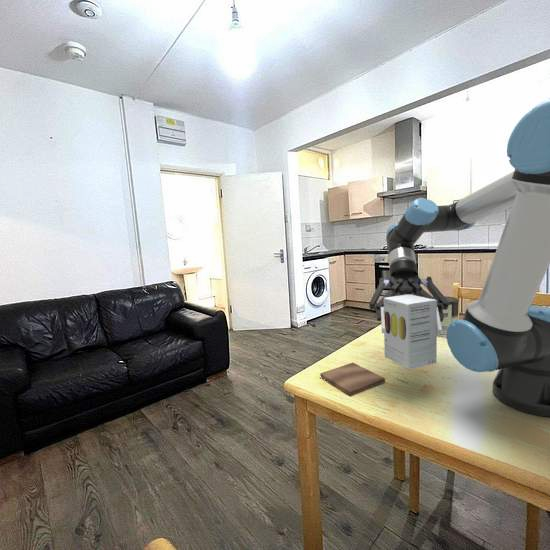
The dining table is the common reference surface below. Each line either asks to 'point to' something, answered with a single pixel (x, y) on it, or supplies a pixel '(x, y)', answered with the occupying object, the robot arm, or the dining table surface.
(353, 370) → the walnut board
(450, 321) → the coffee can
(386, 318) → the supplement box
